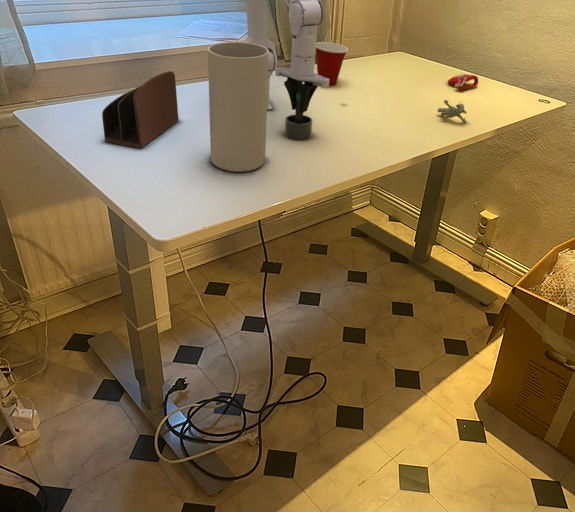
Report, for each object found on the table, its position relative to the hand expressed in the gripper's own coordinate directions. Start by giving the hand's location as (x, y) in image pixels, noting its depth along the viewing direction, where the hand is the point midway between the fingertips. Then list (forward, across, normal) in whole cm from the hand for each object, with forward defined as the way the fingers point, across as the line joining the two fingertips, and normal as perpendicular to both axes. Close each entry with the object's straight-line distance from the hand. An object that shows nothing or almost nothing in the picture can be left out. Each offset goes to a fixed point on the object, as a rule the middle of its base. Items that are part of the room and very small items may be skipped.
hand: (299, 110), depth 139 cm
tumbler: (+7, 0, 0) cm, 7 cm away
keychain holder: (+5, -18, -72) cm, 74 cm away
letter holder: (+7, +30, +25) cm, 40 cm away
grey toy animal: (+7, -26, -38) cm, 46 cm away
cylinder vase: (+7, +1, +23) cm, 24 cm away
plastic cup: (+7, +17, -42) cm, 46 cm away
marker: (+5, 0, 0) cm, 5 cm away
